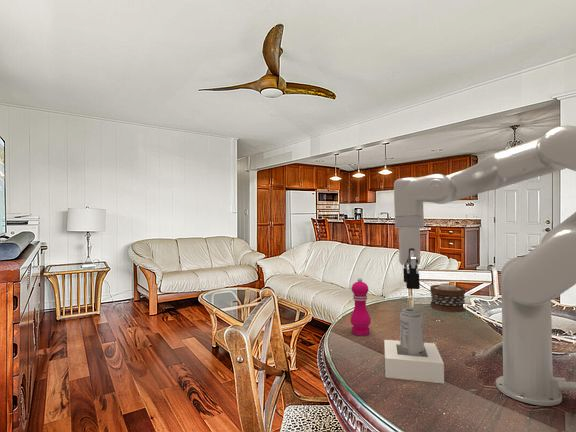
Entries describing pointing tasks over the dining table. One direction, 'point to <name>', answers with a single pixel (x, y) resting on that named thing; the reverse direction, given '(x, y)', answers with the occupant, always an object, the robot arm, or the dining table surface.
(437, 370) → the socket block
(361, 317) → the pepper mill
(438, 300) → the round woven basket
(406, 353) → the energy drink can
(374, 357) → the dining table surface
